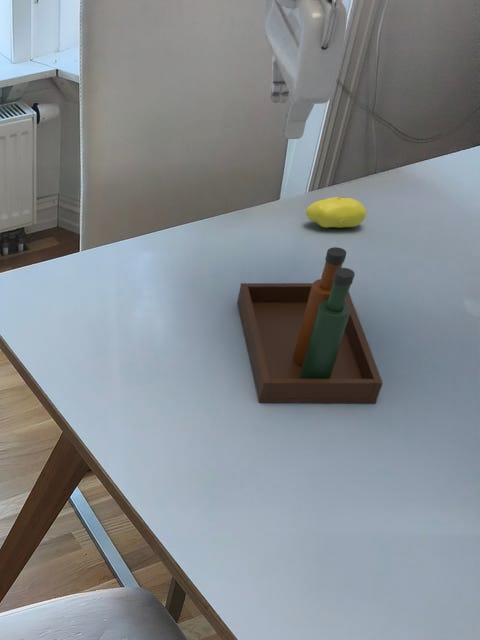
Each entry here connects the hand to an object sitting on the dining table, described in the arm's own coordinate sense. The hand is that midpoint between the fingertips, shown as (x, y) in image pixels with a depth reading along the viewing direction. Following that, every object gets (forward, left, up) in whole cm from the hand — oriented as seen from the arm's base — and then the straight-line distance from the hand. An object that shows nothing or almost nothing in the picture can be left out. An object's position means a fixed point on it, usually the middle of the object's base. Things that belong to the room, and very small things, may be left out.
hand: (284, 117), depth 94 cm
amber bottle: (-5, +14, -20) cm, 25 cm away
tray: (-5, +11, -21) cm, 24 cm away
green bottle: (-5, +18, -20) cm, 28 cm away
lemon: (-14, -19, -21) cm, 32 cm away
